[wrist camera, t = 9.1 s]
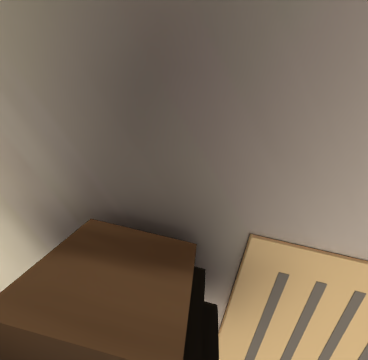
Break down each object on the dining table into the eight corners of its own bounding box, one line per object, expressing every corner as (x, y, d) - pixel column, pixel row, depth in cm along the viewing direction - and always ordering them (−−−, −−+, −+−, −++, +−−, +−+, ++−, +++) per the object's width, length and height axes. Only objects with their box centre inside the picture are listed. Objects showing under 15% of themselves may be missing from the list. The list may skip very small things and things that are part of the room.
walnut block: (90, 218, 10) (-27, 315, 5) (196, 244, 9) (181, 374, 5) (85, 301, 11) (-9, 437, 6) (177, 326, 11) (149, 489, 6)
